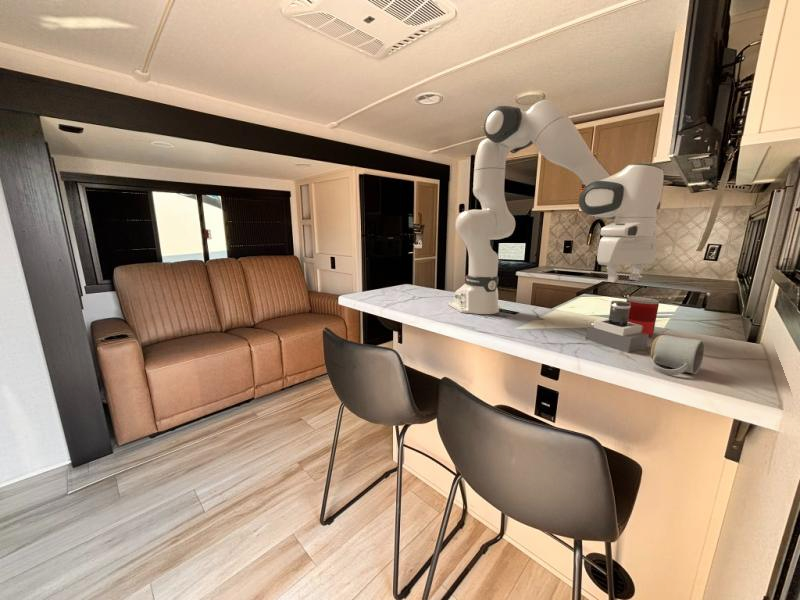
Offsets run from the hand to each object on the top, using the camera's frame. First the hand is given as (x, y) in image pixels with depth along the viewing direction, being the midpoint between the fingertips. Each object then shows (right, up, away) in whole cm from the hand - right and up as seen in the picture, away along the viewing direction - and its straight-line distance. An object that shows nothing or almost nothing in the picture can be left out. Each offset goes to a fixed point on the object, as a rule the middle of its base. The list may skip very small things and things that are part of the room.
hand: (623, 280), depth 85 cm
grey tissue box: (0, -18, +4) cm, 18 cm away
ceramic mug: (+2, -22, -13) cm, 25 cm away
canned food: (+13, -16, +13) cm, 24 cm away
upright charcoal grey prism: (0, -14, +3) cm, 14 cm away
